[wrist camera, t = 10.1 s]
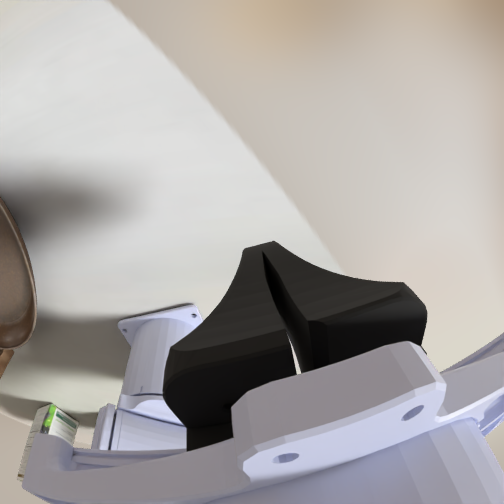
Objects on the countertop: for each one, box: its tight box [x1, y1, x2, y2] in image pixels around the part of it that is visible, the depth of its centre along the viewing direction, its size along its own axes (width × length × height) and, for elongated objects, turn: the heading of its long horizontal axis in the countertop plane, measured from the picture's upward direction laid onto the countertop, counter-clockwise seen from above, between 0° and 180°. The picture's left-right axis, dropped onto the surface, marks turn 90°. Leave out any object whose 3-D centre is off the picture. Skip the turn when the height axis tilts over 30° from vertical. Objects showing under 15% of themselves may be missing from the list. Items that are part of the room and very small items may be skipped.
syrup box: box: [17, 404, 79, 483], centre depth 25 cm, size 6×6×14 cm
